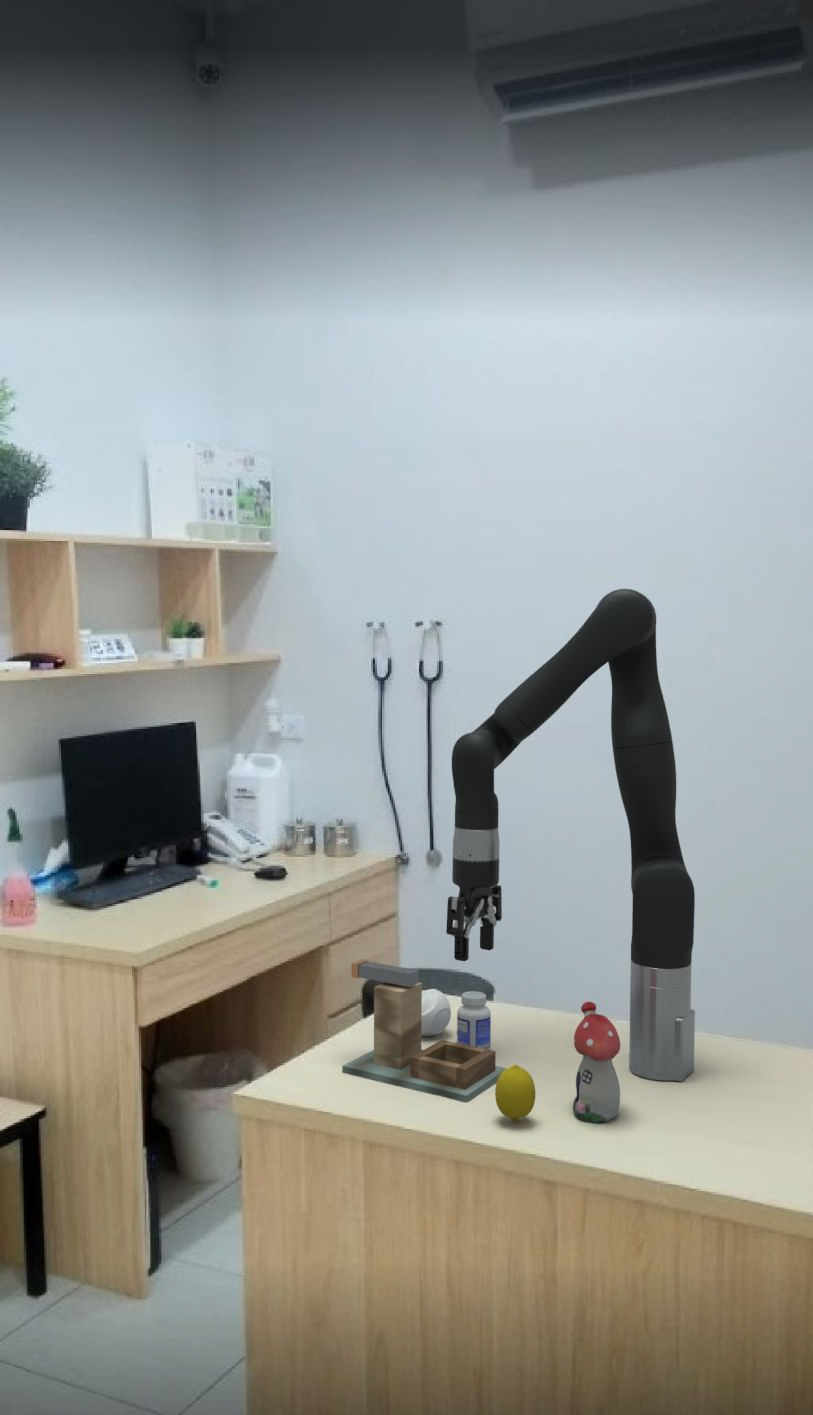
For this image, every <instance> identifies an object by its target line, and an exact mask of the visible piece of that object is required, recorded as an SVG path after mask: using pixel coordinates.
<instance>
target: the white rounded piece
mask: <svg viewBox="0 0 813 1415" xmlns="http://www.w3.org/2000/svg"><path fill="white" fill-rule="evenodd" d="M451 1018H452V1010H451V1004H450V1001H449V999H448V998H447V996H446V995H445V994H444V993H443V992H442V991H440V990H438V989H436V988H429V989H426V990H422V1024H421V1037H422V1036H423V1037H431V1036H436V1035H439V1034H440V1033H442V1032H444V1030H445V1029H446V1028H447V1027H448V1026H449V1023H450V1021H451Z"/></svg>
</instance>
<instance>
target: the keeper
mask: <svg viewBox="0 0 813 1415" xmlns="http://www.w3.org/2000/svg"><path fill="white" fill-rule="evenodd" d="M419 973H420V970H419V969H412V968H409V967H401V966H397V965H391V964H384V963H380V962H378V963H377V962H373V961H369V960H366V959H359V960H356V961H354V962H351V978H354V979H355V978H356V979H366V980H371V981H377V982H381V983H385V982H386V983H392V984H397V985H403V986H408V987H411V986H413V985H416V984H418V983H420V979H419V978H420V974H419Z"/></svg>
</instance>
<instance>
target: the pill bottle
mask: <svg viewBox="0 0 813 1415" xmlns="http://www.w3.org/2000/svg"><path fill="white" fill-rule="evenodd" d="M460 1002H461V1006H460V1007H459V1008H458V1009H457V1014H456V1015H457V1016H456V1017H457V1018H456V1021H457V1022H456V1023H457V1024H456V1025H457V1026H456V1028H457V1029H456V1030H457V1031H456V1037H457V1038H456V1040H457V1041H456V1043H460V1044H465V1045H470V1046H474V1047H479V1048H484V1049H489V1050H492V1049H491V1041H492V1040H491V1037H492V1036H491V1028H492V1027H491V1026H492V1025H491V1024H492V1023H491V1022H492V1021H491V1020H492V1019H491V1009H490V1008H489V1007H488V1006H486V1005H487V994H485V993H484V992H482V991H465V992H463V993H462V994H461V1000H460Z"/></svg>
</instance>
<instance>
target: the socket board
mask: <svg viewBox="0 0 813 1415" xmlns="http://www.w3.org/2000/svg"><path fill="white" fill-rule="evenodd" d="M422 988H423V983H422V982H419V983H418V984H416V985H413V986H411V987H408V986H403V985H397V984H392V983H386V982H382V983H381V984H378V985H375V986H374V988H373V1049H372V1050H370V1051H368V1052H367V1053H365V1054H363V1055H361V1056H359V1057H357V1058H355V1059H353V1060H350V1061H349V1062H347V1063H345V1064H344V1065H342V1071H341V1072H342V1073H344V1074H349V1075H353V1076H356V1077H362V1078H364V1079H369V1080H373V1081H376V1082H382V1083H385V1084H390V1085H394V1086H398V1087H402V1088H406V1089H411V1090H414V1091H420V1092H423V1093H426V1094H431V1095H436V1096H439V1097H444V1098H448V1099H452V1100H456V1101H460V1102H464V1103H468V1102H469V1101H471V1100H472V1099H475V1097H477V1096H478V1095H480V1094H482V1093H483V1092H484V1091H486V1090H487V1089H489V1088H490V1087H492V1086H494V1085H496V1084H497V1080H498V1078H499V1076H500V1074H501V1073H502V1072H503V1071H504V1070H505V1069H507V1068H508V1067H502V1066H497V1065H496V1064H497V1063H496V1062H497V1061H496V1058H497V1057H496V1056H497V1055H496V1054H497V1053H496V1050H493V1049H491V1050H489V1049H484V1048H479V1047H474V1046H470V1045H465V1044H460V1043H457V1042H455V1041H451V1040H445V1039H441V1040H439V1041H436V1042H435V1043H434V1044H431V1045H430V1046H428V1047H426V1048H424V1049H422V1035H421V1024H422V992H423V990H422Z"/></svg>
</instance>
